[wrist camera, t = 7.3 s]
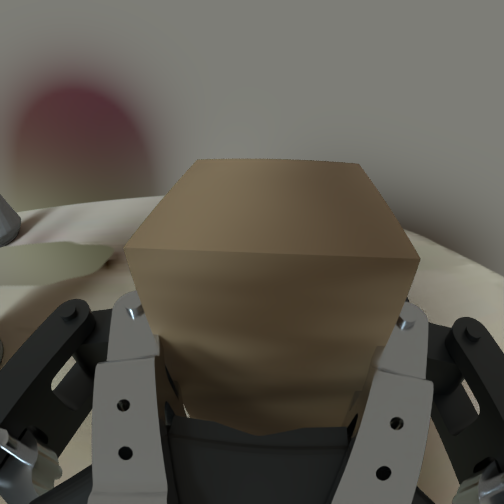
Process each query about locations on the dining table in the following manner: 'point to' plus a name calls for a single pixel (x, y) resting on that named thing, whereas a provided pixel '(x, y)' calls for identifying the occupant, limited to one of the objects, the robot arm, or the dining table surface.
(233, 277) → the walnut block
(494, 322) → the dining table surface
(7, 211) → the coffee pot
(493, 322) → the dining table surface
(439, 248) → the dining table surface
